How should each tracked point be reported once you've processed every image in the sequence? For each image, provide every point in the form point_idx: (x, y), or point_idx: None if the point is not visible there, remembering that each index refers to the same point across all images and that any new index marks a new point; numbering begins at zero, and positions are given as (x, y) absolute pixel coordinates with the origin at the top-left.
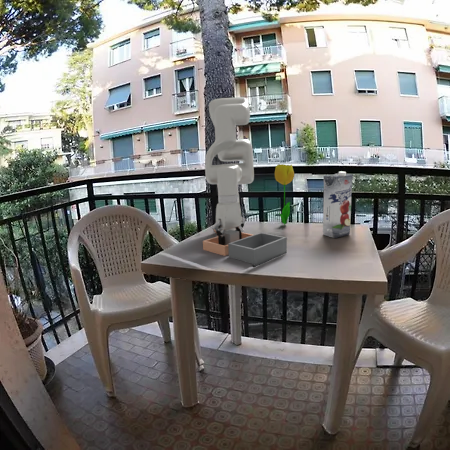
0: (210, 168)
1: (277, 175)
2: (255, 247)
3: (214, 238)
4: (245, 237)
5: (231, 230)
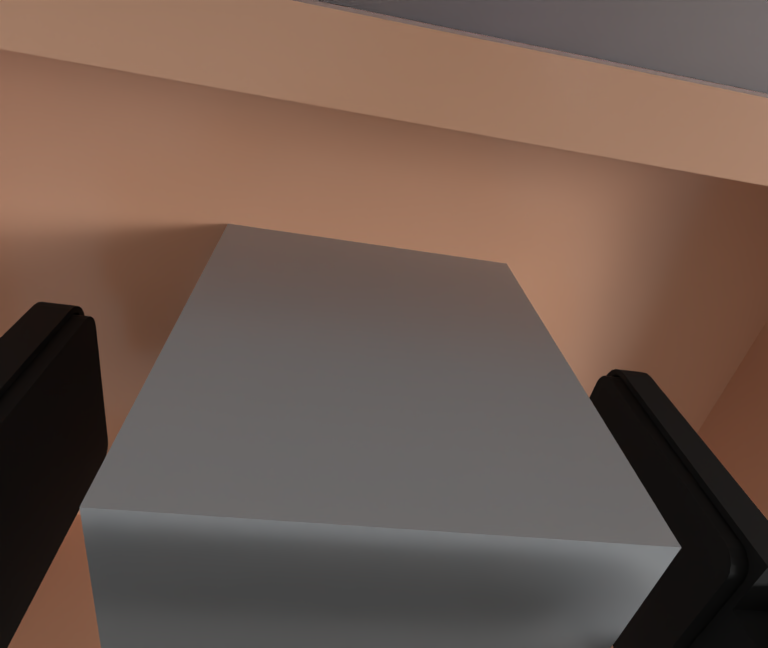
0: None
1: None
2: None
3: (44, 51)
4: (761, 481)
5: (560, 637)
